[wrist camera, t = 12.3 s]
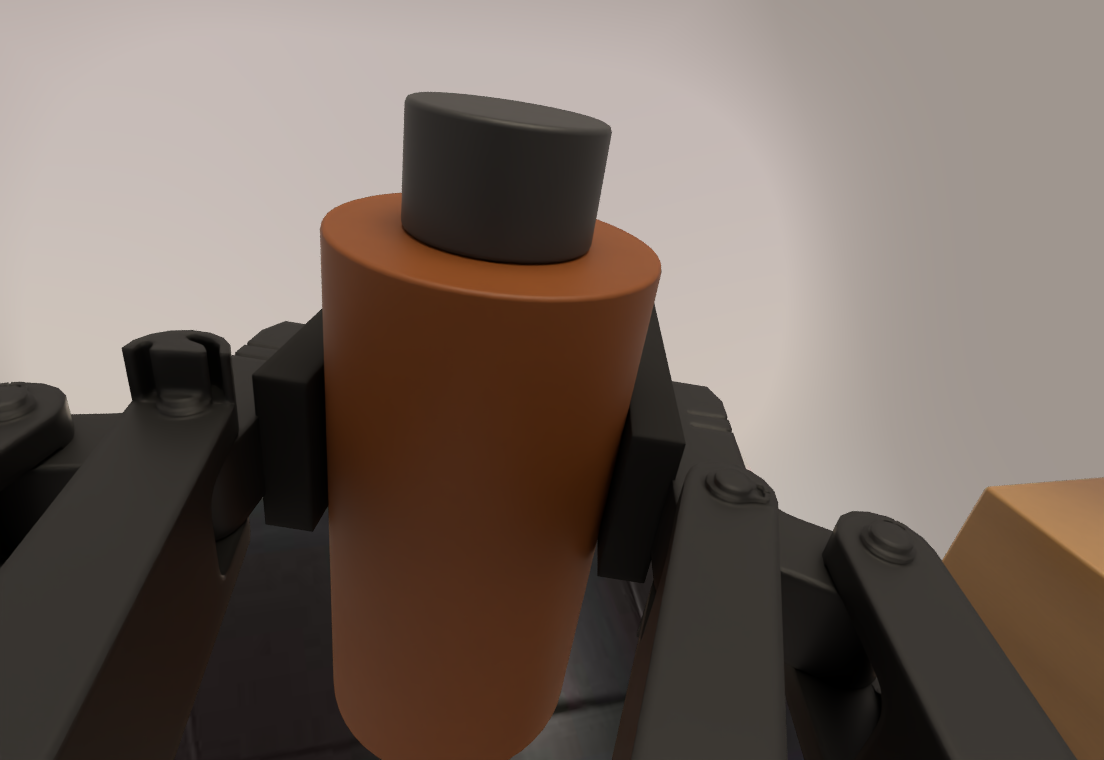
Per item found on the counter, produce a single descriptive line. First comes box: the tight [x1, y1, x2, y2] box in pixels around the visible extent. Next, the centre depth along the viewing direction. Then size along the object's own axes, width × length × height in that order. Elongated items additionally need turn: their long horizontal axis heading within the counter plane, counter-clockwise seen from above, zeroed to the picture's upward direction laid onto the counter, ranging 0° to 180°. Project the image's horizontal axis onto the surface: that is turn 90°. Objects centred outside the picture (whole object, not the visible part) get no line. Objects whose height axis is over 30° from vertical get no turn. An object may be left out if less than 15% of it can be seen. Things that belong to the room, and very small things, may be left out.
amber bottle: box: [320, 92, 661, 760], centre depth 10 cm, size 5×5×11 cm
